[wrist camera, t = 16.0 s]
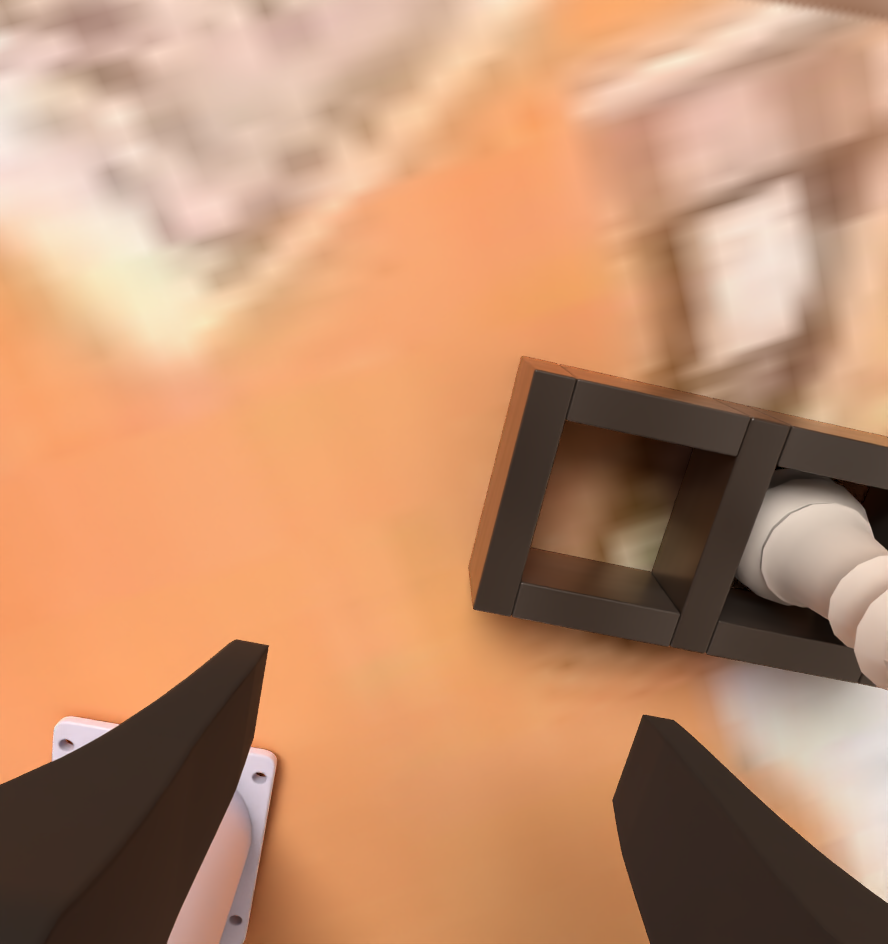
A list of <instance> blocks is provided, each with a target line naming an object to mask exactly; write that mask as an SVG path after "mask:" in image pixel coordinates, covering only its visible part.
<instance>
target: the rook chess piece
mask: <svg viewBox="0 0 888 944" xmlns="http://www.w3.org/2000/svg"><path fill="white" fill-rule="evenodd" d="M735 577H736V578H737V579H738V580H739V581H740V582H741V583H742V584H743V585H745V586H747V587H748V588H750V589H751V590H752V591H753V592H754V593H755V594H756V595H757V596H760V597H762V598H765V599H768V600H771V601H774V602H777V603H780V604H783V605H786V606H791V605H796V606H799V607H808V608H810V609H811V610H813V611H815V612H816V613H818V614H820V615H821V616H823V617H825V618H826V619H828V620H829V621H830V624H831V627H832V630H833V633H834V635H835V636H836V637H838V638H839V639H840V640H841V641H842V642H843V643H844V644H845V645H846V646H847V647H850V648H853V649H854V652H855V655H856V658H857V661H858V664H859V667H860V670H861V672H862V673H863V674H864V675H865V676H866V677H867V678H869V679H870V680H871V681H872V682H873V683H874V684H875V685H876V686H877V687H880V688H883V689H886V690H888V551H887V550H886V549H885V548H884V547H883V546H882V545H881V544H880V543H879V542H878V541H876V540H875V539H874V536H873V532H872V529H871V526H870V524H869V521H868V518H867V515H866V511H865V509H864V508H863V506H862V505H861V504H860V503H859V502H858V501H857V500H856V499H855V498H854V496H853V495H852V494H851V493H850V492H849V491H848V490H847V489H846V488H845V487H844V486H841V485H838V484H836V483H835V482H834V481H833V480H832V479H831V478H830V477H826V476H821V475H817V474H812V473H807V472H803V471H798V470H793V469H778V470H775V471H774V473H773V476H772V479H771V481H770V484H769V487H768V489H767V492H766V494H765V497H764V500H763V502H762V505H761V508H760V510H759V513H758V516H757V518H756V521H755V524H754V526H753V529H752V532H751V534H750V537H749V540H748V542H747V545H746V548H745V550H744V553H743V555H742V558H741V561H740V563H739V566H738V569H737V571H736V574H735Z"/></svg>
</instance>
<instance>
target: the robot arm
mask: <svg viewBox="0 0 888 944" xmlns="http://www.w3.org/2000/svg"><path fill="white" fill-rule="evenodd" d="M268 647H269V645H263V644H258V643H253V642H247V641H242V640H234V641H232V642H231V643H229V644H228V645H227V646H225V647H224V648H223V649H222V650H221V651H219V652H218V653H217V654H216V655H215V656H213V657H212V658H211V659H210V660H209V661H207V662H206V663H205V664H204V665H202V666H201V667H200V668H199V669H197V670H196V671H195V672H194V673H192V674H191V675H190V676H189V677H187V678H186V679H185V680H183V681H182V682H181V683H179V684H178V685H176V686H175V687H174V688H172V689H171V690H170V691H168V692H167V693H166V694H164V695H163V696H162V697H160V698H159V699H157V700H156V701H155V702H153V703H152V704H150V705H149V706H147V707H146V708H144V709H143V710H141V711H140V712H138V713H137V714H135V715H134V716H132V717H130V718H129V719H127V720H126V721H124V722H123V723H121V724H115V723H109V722H104V721H98V720H92V719H86V718H81V717H75V716H67V717H64V718H62V719H61V720H60V721H59V722H58V723H57V725H56V726H55V728H54V733H53V749H52V762H50V763H48V764H45V765H43V766H41V767H39V768H37V769H34V770H32V771H30V772H28V773H26V774H23V775H21V776H19V777H17V778H15V779H12V780H10V781H8V782H6V783H3V784H1V785H0V944H243V943H244V941H245V938H246V934H247V930H248V924H249V919H250V913H251V907H252V902H253V896H254V890H255V885H256V879H257V874H258V868H259V862H260V857H261V851H262V845H263V840H264V834H265V829H266V823H267V817H268V812H269V806H270V800H271V795H272V789H273V784H274V778H275V772H276V767H277V758H276V756H275V754H273V753H272V752H271V751H268V750H266V749H260V748H254V747H251V744H252V741H253V738H254V732H255V726H256V720H257V714H258V708H259V702H260V696H261V689H262V683H263V677H264V671H265V665H266V659H267V653H268ZM65 739H67V740H70V741H71V742H72V743H73V744H70V743H68V742H67V741H66V740H65ZM257 772H261V773H263V774H265V775H266V776H259V775H257ZM612 801H613V807H614V813H615V819H616V825H617V831H618V836H619V841H620V846H621V851H622V855H623V859H624V862H625V866H626V869H627V872H628V875H629V878H630V882H631V885H632V888H633V891H634V895H635V898H636V901H637V904H638V907H639V910H640V913H641V916H642V920H643V923H644V926H645V929H646V932H647V935H648V938H649V941H650V944H888V903H887V902H885V901H884V900H882V899H881V898H880V897H878V896H877V895H875V894H874V893H873V892H871V891H870V890H869V889H867V888H866V887H865V886H863V885H862V884H861V883H859V882H858V881H857V880H855V879H854V878H853V877H851V876H850V875H849V874H848V873H846V872H845V871H844V870H842V869H841V868H840V867H838V866H837V865H836V864H834V863H833V862H832V861H831V860H829V859H828V858H827V857H826V856H824V855H823V854H822V853H821V852H819V851H818V850H817V849H816V848H815V847H813V846H812V845H811V844H810V843H809V842H808V841H806V840H805V839H804V838H803V837H802V836H801V835H799V834H798V833H797V832H796V831H795V830H794V829H792V828H791V827H790V826H789V825H788V824H787V823H785V822H784V821H783V820H782V819H781V818H780V817H779V816H777V815H776V814H775V813H774V812H773V811H772V810H771V809H770V808H769V807H767V806H766V805H765V804H764V803H763V802H762V801H761V800H760V799H759V798H758V797H757V796H755V795H754V794H753V793H752V792H751V791H750V790H749V789H748V788H747V787H746V786H745V785H744V784H743V783H742V782H740V781H739V780H738V779H737V778H736V777H735V776H734V775H733V774H732V773H731V772H730V771H729V770H728V769H727V768H726V767H725V766H724V765H723V764H722V763H721V762H719V761H718V760H717V759H716V758H715V757H714V756H713V755H712V754H711V753H710V752H709V751H708V750H707V749H706V748H705V747H704V746H703V745H701V744H700V743H699V742H698V741H697V740H696V739H695V738H694V737H693V736H692V735H691V734H690V733H688V732H687V731H686V730H685V729H684V728H683V727H681V726H680V725H679V724H678V723H677V722H675V721H674V720H670V719H665V718H659V717H654V716H649V715H643V716H642V719H641V722H640V724H639V727H638V730H637V733H636V736H635V738H634V741H633V744H632V747H631V750H630V752H629V755H628V758H627V761H626V764H625V766H624V769H623V772H622V775H621V778H620V780H619V783H618V786H617V789H616V792H615V794H614V797H613V800H612ZM236 915H237V916H236Z"/></svg>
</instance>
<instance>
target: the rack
mask: <svg viewBox="0 0 888 944" xmlns="http://www.w3.org/2000/svg"><path fill="white" fill-rule="evenodd" d="M565 420H568V421H571V422H576V423H580V424H585V425H590V426H594V427H599V428H604V429H608V430H613V431H618V432H622V433H627V434H631V435H636V436H641V437H645V438H650V439H655V440H659V441H664V442H668V443H673V444H678V445H682V446H687V447H692V448H694V449H693V452H692V455H691V458H690V461H689V464H688V467H687V469H686V472H685V475H684V478H683V481H682V484H681V487H680V490H679V493H678V496H677V499H676V502H675V505H674V508H673V511H672V514H671V517H670V520H669V523H668V526H667V529H666V532H665V535H664V538H663V541H662V544H661V547H660V550H659V552H658V555H657V558H656V561H655V564H654V567H653V570H652V573H651V572H649V571H644V570H639V569H634V568H629V567H624V566H619V565H614V564H609V563H604V562H599V561H594V560H589V559H584V558H579V557H575V556H570V555H565V554H560V553H555V552H550V551H545V550H540V549H535V548H530V546H531V543H532V539H533V535H534V532H535V528H536V525H537V521H538V517H539V514H540V510H541V507H542V503H543V499H544V496H545V492H546V489H547V485H548V481H549V478H550V474H551V470H552V467H553V463H554V460H555V456H556V452H557V449H558V445H559V442H560V438H561V434H562V431H563V427H564V424H565ZM776 465H777V466H779V467H784V468H789V469H793V470H798V471H803V472H807V473H812V474H817V475H821V476H826V477H830V478H835V479H840V480H844V481H849V482H854V483H858V484H863V485H868V486H870V489H869V491H868V494H867V496H866V498H865V501H864V503H863V505H862V506H863V508H864V509H865V511H866V515H867V518H868V521H869V524H870V526H871V529H872V532H873V536H874V539H875V540H876V541H878V542H879V543H880V544H881V545H882V546H883V547H884V548H885V549H886V550H887V551H888V437H886V436H882V435H877V434H873V433H868V432H864V431H859V430H855V429H850V428H846V427H841V426H837V425H832V424H828V423H823V422H819V421H814V420H810V419H805V418H801V417H796V416H792V415H787V414H783V413H778V412H774V411H769V410H765V409H760V408H756V407H751V406H745V405H742V404H737V403H733V402H728V401H724V400H719V399H715V398H713V399H711V398H709V397H706V396H701V395H697V394H692V393H688V392H683V391H679V390H674V389H670V388H665V387H661V386H656V385H652V384H647V383H643V382H638V381H634V380H629V379H625V378H620V377H616V376H611V375H607V374H602V373H598V372H593V371H589V370H584V369H580V368H575V367H571V366H566V365H562V364H560V365H558V364H557V363H553V362H548V361H544V360H539V359H535V358H530V357H526V356H522V357H521V360H520V364H519V368H518V372H517V376H516V380H515V384H514V388H513V392H512V396H511V399H510V403H509V407H508V411H507V415H506V419H505V423H504V427H503V431H502V435H501V439H500V443H499V447H498V451H497V455H496V459H495V463H494V467H493V471H492V475H491V479H490V483H489V487H488V491H487V495H486V499H485V503H484V507H483V511H482V515H481V519H480V523H479V527H478V531H477V535H476V539H475V543H474V547H473V551H472V555H471V559H470V563H469V575H470V585H471V594H472V603H473V609H474V610H479V611H484V612H489V613H494V614H499V615H505V616H511V615H512V617H515V618H520V619H525V620H531V621H536V622H541V623H546V624H551V625H557V626H562V627H567V628H572V629H577V630H583V631H588V632H593V633H598V634H603V635H609V636H614V637H619V638H624V639H629V640H635V641H640V642H645V643H650V644H655V645H661V646H666V647H668V646H670V647H673V648H678V649H683V650H688V651H693V652H699V653H706V654H707V655H712V656H717V657H722V658H727V659H733V660H738V661H743V662H748V663H753V664H758V665H764V666H769V667H774V668H779V669H784V670H790V671H795V672H800V673H805V674H810V675H816V676H821V677H826V678H831V679H836V680H842V681H847V682H852V683H858V684H863V685H868V686H873V687H877V686H876V685H875V684H874V683H873V682H872V681H871V680H870V679H869V678H867V677H866V676H865V675H864V674H863V673H862V672H861V670H860V667H859V664H858V661H857V658H856V655H855V652H854V649H853V648H850V647H847V646H846V645H845V644H844V643H843V642H842V641H841V640H840V639H839V638H838V637H836V636H835V635H834V633H833V630H832V627H831V624H830V621H829V620H828V619H826V618H825V617H823V616H821V615H820V614H818V613H816V612H815V611H813V610H811V609H810V608H808V607H799V606H796V605H791V606H786V605H783V604H780V603H777V602H774V601H771V600H768V599H765V598H762V597H760V596H757V595H756V594H755V593H754V592H749V591H744V590H740V589H735V588H730V587H731V585H732V582H733V579H734V577H735V574H736V571H737V569H738V566H739V563H740V561H741V558H742V555H743V553H744V550H745V548H746V545H747V542H748V540H749V537H750V534H751V532H752V529H753V526H754V524H755V521H756V518H757V516H758V513H759V510H760V508H761V505H762V502H763V500H764V497H765V494H766V492H767V489H768V487H769V484H770V481H771V479H772V476H773V473H774V471H775V468H776ZM878 688H880V687H878Z"/></svg>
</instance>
